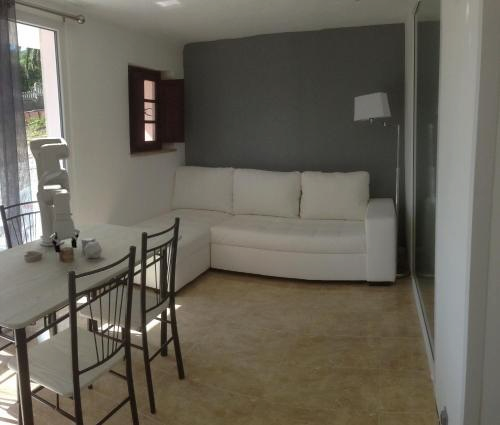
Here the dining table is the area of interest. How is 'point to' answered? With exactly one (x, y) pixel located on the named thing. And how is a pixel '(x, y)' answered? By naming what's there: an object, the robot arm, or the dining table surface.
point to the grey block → (86, 240)
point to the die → (92, 250)
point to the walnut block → (66, 254)
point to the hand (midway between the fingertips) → (66, 250)
